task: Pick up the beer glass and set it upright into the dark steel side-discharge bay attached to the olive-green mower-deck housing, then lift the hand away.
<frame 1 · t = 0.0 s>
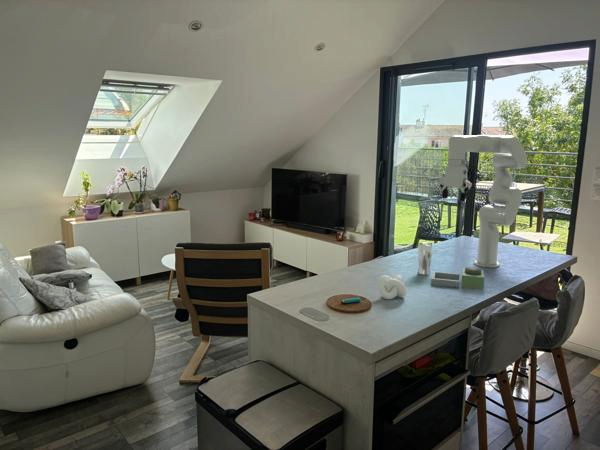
hand: (453, 199, 219), 37 cm above the kitchen island, tool pointing down, fingers open, 9 cm apart
white looped piece: (393, 297, 197), on the kitchen island
mower deck: (462, 284, 214), on the kitchen island
beer glass: (424, 273, 230), on the kitchen island
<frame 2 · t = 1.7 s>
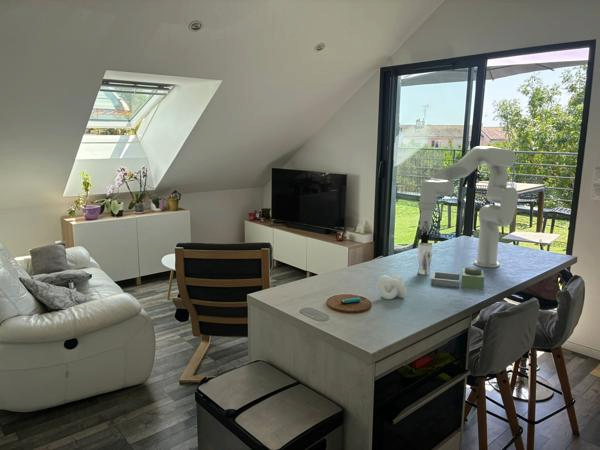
hand: (425, 240, 227), 17 cm above the kitchen island, tool pointing down, fingers open, 9 cm apart
nothing on the kitchen island moved.
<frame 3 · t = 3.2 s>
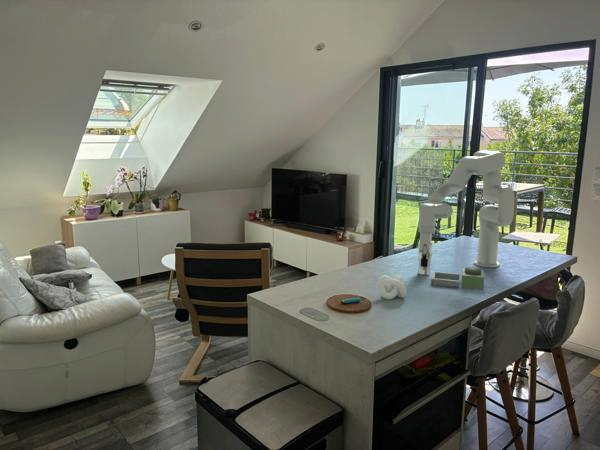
hand: (424, 264, 229), 5 cm above the kitchen island, tool pointing down, fingers closed on beer glass, 6 cm apart
beer glass: (424, 273, 230), on the kitchen island, touching gripper
everything else where it was.
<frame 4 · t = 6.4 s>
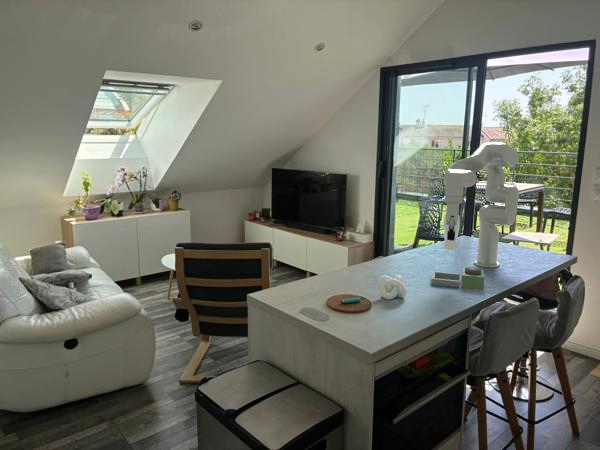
hand: (451, 237, 212), 21 cm above the kitchen island, tool pointing down, fingers closed on beer glass, 6 cm apart
beer glass: (450, 248, 213), point 16 cm above the kitchen island, touching gripper
everything else where it was.
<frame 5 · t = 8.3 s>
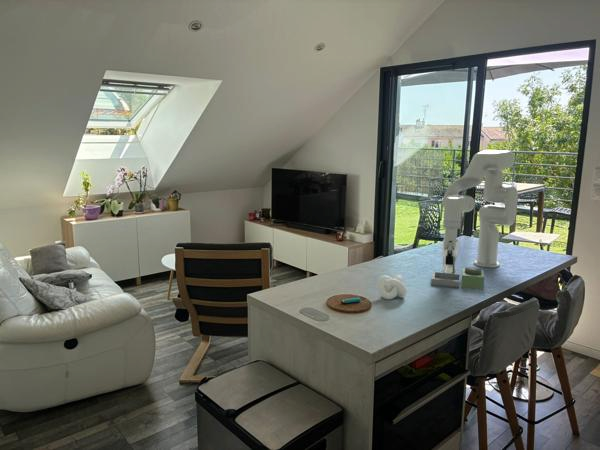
hand: (449, 262, 214), 10 cm above the kitchen island, tool pointing down, fingers closed on beer glass, 6 cm apart
beer glass: (448, 272, 215), point 5 cm above the kitchen island, touching gripper
everything else where it was.
when the fingers open (6 cm above the kitchen island, at t = 9.6 s): beer glass drops 1 cm, resting on mower deck.
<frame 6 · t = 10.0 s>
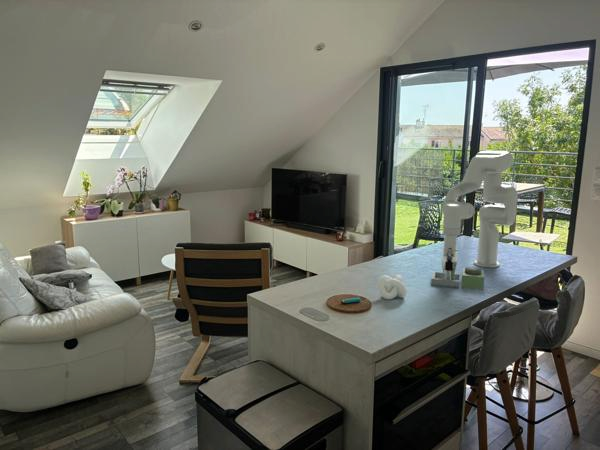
hand: (448, 267, 215), 7 cm above the kitchen island, tool pointing down, fingers open, 9 cm apart
beer glass: (448, 281, 216), resting on mower deck
everything else where it was.
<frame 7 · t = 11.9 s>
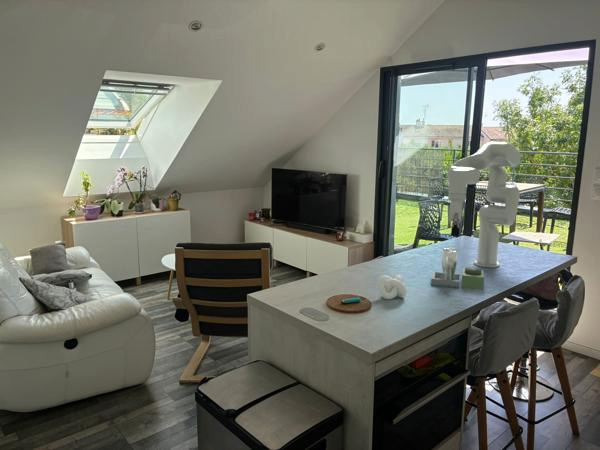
hand: (454, 233, 214), 23 cm above the kitchen island, tool pointing down, fingers open, 9 cm apart
nothing on the kitchen island moved.
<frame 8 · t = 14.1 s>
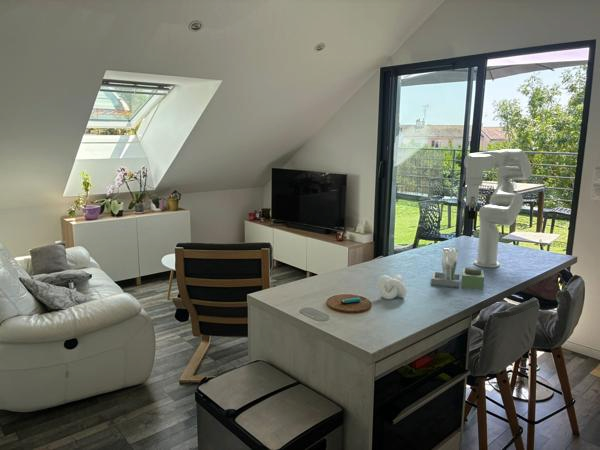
hand: (471, 217, 225), 28 cm above the kitchen island, tool pointing down, fingers open, 9 cm apart
nothing on the kitchen island moved.
at the end: beer glass 0.3 cm from the target spot on the mower deck, point 0.4 cm above the mower deck's base; beer glass tilted 0°; the gripper is holding nothing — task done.
